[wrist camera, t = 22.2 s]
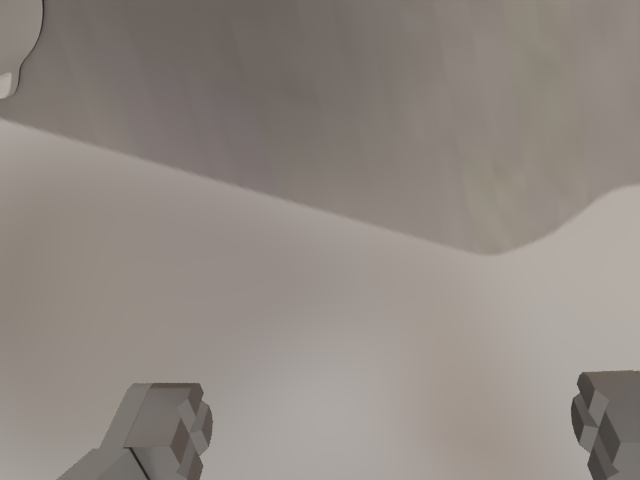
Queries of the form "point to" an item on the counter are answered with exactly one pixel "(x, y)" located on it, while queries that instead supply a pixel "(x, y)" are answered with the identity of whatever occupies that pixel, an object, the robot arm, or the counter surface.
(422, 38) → the counter surface
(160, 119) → the counter surface
